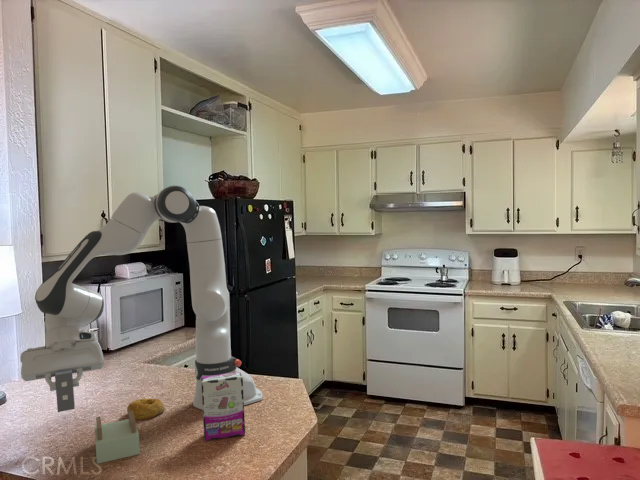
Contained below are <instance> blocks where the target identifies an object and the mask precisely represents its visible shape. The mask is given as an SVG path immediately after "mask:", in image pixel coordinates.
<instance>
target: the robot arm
mask: <svg viewBox="0 0 640 480" xmlns="http://www.w3.org/2000/svg"><path fill="white" fill-rule="evenodd" d="M156 221H160V222H164V223H165V222H166V223H173V224H174V223H180V224H181V225H182V227H183V228H184V231H185V236H186V237H185V238H186V239H185V240H186V245H187V254H188V255H187V256H188V263H189V264H188V265H189V277H190V278H189V279H190V295H191V306H192V307H191V308H192V310H193V312H194V314H195V337H194V338H195V357H196V358H195V361H194V375H195V380H196V381H195V392H194V397H193V401H192V406H193V407H194V408H197V409H199V410H203V407H202V388H201V377H206V376H214V375H221V374H229V373H237V372H241V375H242V378H243V397H244V406H247V405H249V404H253V403H256V402H260V401H262V400H263V398H264V395H263V392H262V391H261V390H260V388H258V387H256V383H255V381H254V379H253V377H252V376H251V375H250V374H249V373H247V372H246V371H244V370H242V369H240V368H239V367H241V365H242V361H241V360H240V359H238V358H236V357H234V356H232V349H231V345H232V344H231V310H230V309H231V306H230V305H231V304H230V302H231V301H230V292H229V290H228V288H227V274H226V263H225V255H224V254H225V253H224V246H223V239H222V238H223V237H222V231H221V225H220V222H219V218H218V215H217V213H216V210H214V209H213V208H212V207H210V206H205V205H200V204H199V203H198V201H197V200H196V199H195V197H194V196H193V195H192V193H191V192H190V191H189V190H188V189H186V188H185V187H184V186H181V185H169V186H167V187H164V188H163V189H161V190H160V191H159V193H157V194H155V195H154V196H149V195H147V194H145V193H144V192H143V193H142V192H131V193H128V195H127V196H126V197H125V198H124V199H123V200H122V201H121V203H120V204H119V205H118V206H117V208H116V209H115V211H114V212H113V214H112V215H111V217H110V218H109V220H108V221H107V223H105V225H103V226H102V227H101V228H100V229H98V230H92V231H90V232H89V233H87V234H86V235H85V236H84V237H83V238H82V240H80V242H79V243H78V244H77V245H76V246H75V247H74V248H73V249H72V251H71V252H70V253H69V254H68V256H66V258H65V259H64V260H63V261H62V263H61V264H60V265H59V266H58V267H57V269H55V271H54V272H53V273H52V274H51V275H50V276H48V277H47V278H46V279H45V280H44V281H43V282H42V283H41V284H40V286H39V287H38V288H37V290H36V292H35V295H34V300H35V303H36V305H37V308H38V310H39V311H40V312H41V313H43V314H45V315H44V319H45V320H44V325H45V328H46V332H45V336H44V337H45V338H44V339H45V341H44V342H45V345H44V346H38V347H33V348H32V347H30V348H27V349H26V350H24V351H22V352H21V353H20V363H21V368H20V375H21V379H22V381H24V382H31V381H36V380H37V381H38V380H42V379H43V380H44V381H45V382H46V384H48V386H49V391H50V392H53V391H54V392H55V391H56V383H55V381H52V378H55V372H57V371H63V370H69V369H72V375H73V374H76V377H73V388H76V387H80V380H81V379H82V377H83V376H84V373H85V372H90V371H96V370H100V369H102V368H103V367H104V365H105V362H104V353H103V351H102V347H101V345H100V343H99V342H98V337H97V335H96V333H94V332H88V331H80V329H81V328H85V327H87V326H88V325H90V324H92V323H94V322H96V321H97V320H98V319H99V318H100V317H101V316H102V314H103V313H104V307H105V304H104V303H105V302H104V298H103V295H102V294H101V293H99V292H97V291H95V290H92V289H90V288H87V287H85V286H80V285H78V284H76V283H73V281H74V280H75V279H76V277H77V276H78V275H79V274H80V273H81V271H82V270H83V269H84V268H85V267H86V265H87V264H88V263H89V262H90V261H91V260H93V258H96V257H99V256H100V257H101V256H107V255H108V256H124V255H129V254H131V253H134V252H135V251H136V250H137V249H138V248H139V246H140V245H141V244H142V242H143V240H144V239H145V237H146V235H147V234H148V232H149V229H150V228H151V226H152V225H153V224H154V223H155V222H156Z"/></svg>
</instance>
